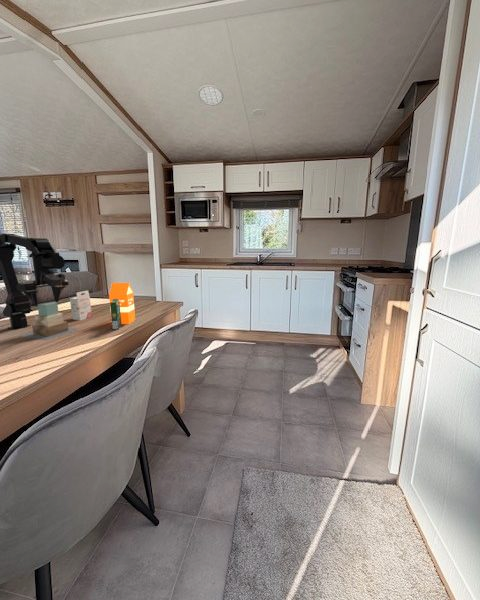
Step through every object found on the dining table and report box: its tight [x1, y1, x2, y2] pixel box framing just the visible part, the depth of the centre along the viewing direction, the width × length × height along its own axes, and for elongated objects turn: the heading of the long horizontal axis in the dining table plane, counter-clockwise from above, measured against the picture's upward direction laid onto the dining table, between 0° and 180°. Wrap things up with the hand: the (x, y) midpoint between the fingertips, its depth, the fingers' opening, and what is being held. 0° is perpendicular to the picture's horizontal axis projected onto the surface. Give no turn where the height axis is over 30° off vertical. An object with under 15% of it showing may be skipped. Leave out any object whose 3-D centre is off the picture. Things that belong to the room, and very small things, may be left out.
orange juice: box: [108, 282, 136, 325], centre depth 134 cm, size 8×9×20 cm
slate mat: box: [19, 327, 81, 341], centre depth 117 cm, size 16×16×1 cm
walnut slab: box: [31, 321, 69, 337], centre depth 117 cm, size 9×9×4 cm
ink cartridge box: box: [69, 290, 93, 321], centre depth 141 cm, size 9×5×15 cm, turn 168°
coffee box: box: [109, 299, 123, 331], centre depth 125 cm, size 8×3×13 cm, turn 14°
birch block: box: [34, 312, 65, 327], centre depth 116 cm, size 7×7×4 cm
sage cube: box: [36, 301, 60, 317], centre depth 115 cm, size 5×5×5 cm
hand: (46, 304), depth 117 cm, fingers open, 9 cm apart
